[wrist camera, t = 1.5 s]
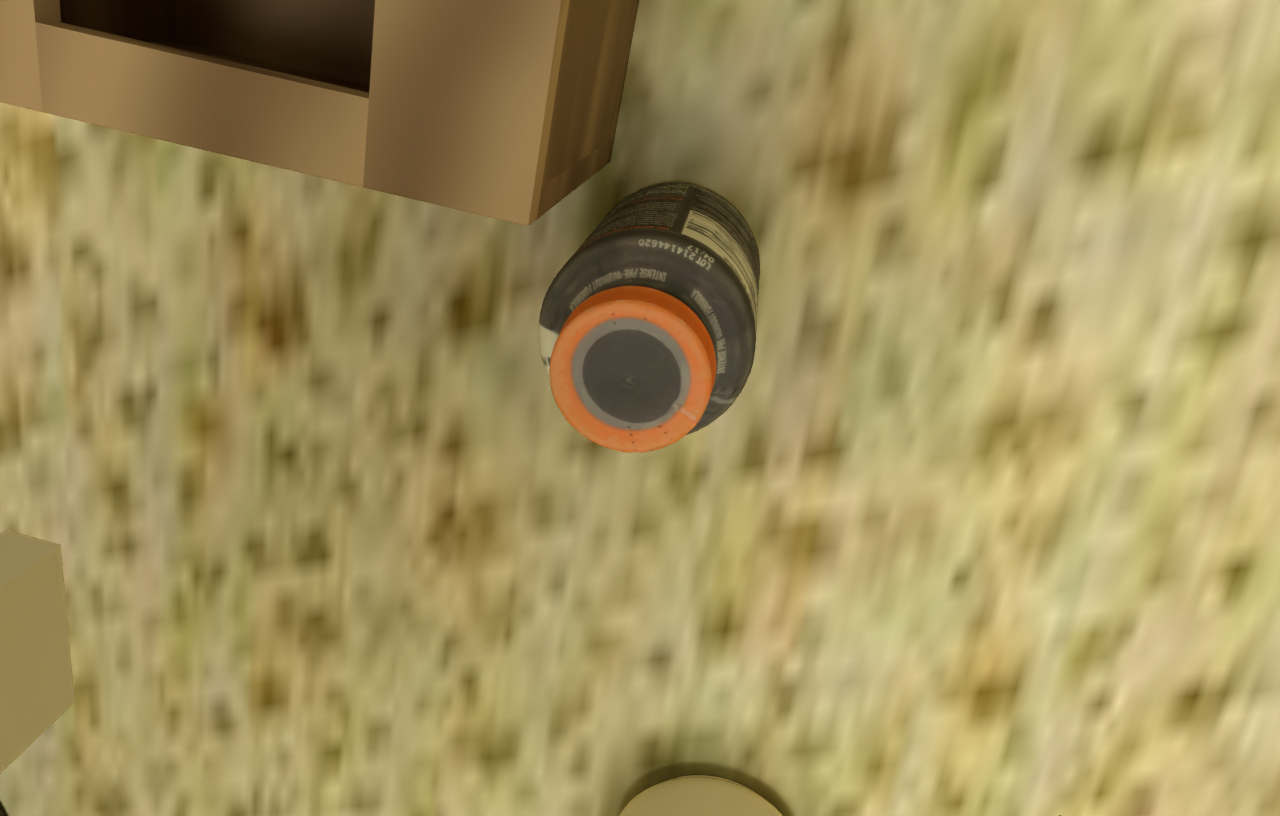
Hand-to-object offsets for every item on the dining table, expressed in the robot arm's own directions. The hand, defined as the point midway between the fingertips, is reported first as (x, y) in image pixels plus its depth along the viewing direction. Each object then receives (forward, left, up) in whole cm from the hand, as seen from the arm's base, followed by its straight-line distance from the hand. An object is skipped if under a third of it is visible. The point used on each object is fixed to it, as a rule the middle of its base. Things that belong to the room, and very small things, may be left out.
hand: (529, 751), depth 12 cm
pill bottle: (-1, +1, -22) cm, 22 cm away
